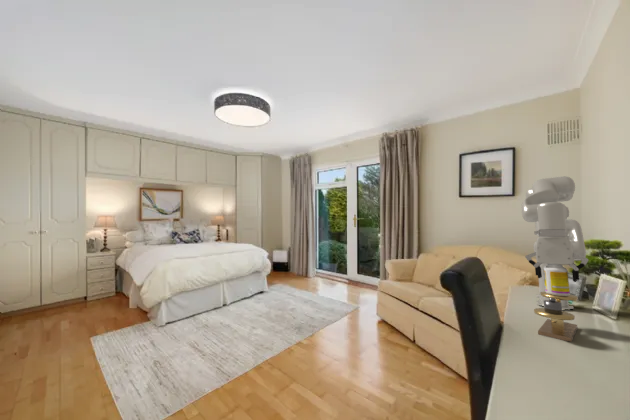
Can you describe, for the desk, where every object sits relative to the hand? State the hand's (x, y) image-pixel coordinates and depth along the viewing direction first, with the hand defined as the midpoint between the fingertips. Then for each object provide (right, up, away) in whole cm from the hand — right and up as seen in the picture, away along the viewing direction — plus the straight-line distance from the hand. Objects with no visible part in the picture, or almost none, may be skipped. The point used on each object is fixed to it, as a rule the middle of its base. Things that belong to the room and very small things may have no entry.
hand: (556, 279), depth 93 cm
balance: (-5, -17, -6) cm, 18 cm away
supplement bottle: (0, -6, 0) cm, 6 cm away
